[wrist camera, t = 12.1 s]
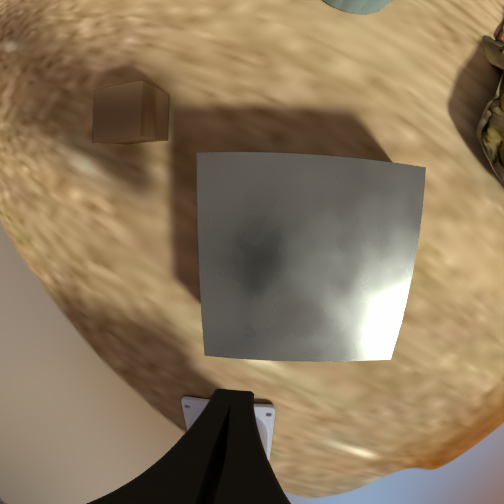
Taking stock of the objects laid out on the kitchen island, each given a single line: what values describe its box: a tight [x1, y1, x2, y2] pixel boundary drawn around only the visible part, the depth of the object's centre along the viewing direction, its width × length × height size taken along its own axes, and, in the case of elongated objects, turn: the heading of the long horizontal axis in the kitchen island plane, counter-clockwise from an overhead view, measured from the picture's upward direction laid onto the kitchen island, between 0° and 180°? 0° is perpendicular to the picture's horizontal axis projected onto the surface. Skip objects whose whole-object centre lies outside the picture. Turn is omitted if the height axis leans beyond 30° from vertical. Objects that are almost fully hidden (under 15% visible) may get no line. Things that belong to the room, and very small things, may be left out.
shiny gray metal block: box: [197, 152, 426, 362], centre depth 16 cm, size 11×11×4 cm
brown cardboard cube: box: [92, 80, 169, 144], centre depth 14 cm, size 3×3×4 cm
